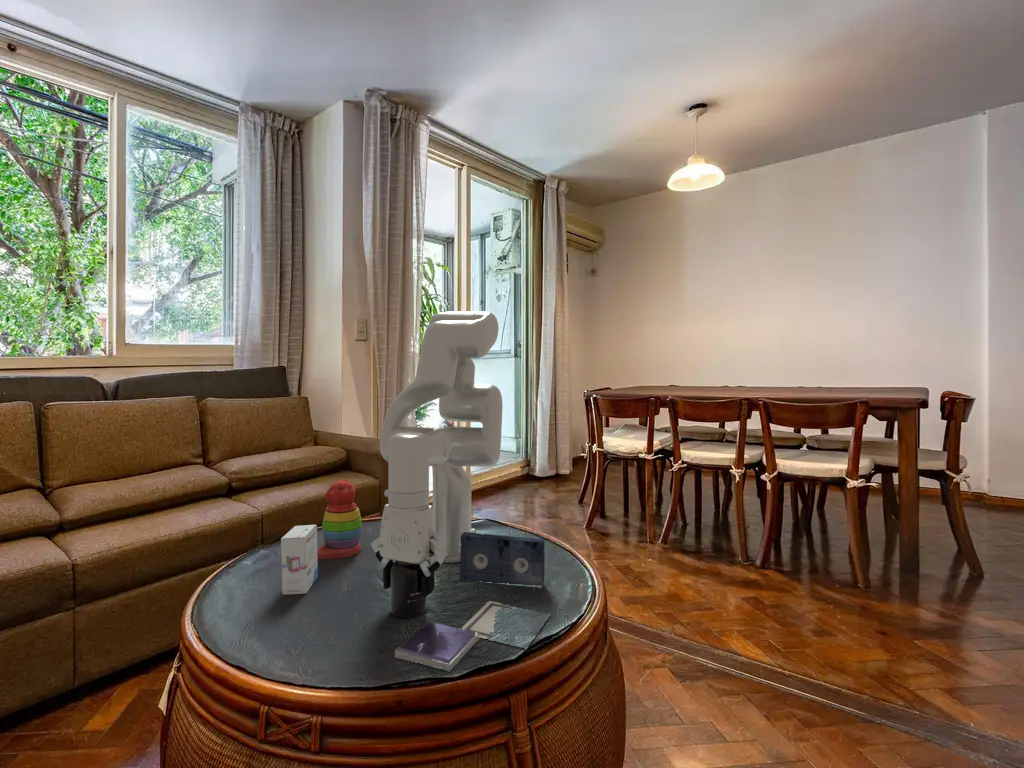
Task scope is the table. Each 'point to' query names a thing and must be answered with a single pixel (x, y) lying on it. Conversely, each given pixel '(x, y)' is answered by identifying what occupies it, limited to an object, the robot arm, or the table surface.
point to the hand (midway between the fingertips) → (408, 589)
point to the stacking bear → (340, 522)
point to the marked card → (484, 620)
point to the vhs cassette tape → (502, 559)
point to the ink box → (299, 559)
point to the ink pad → (437, 645)
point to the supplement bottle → (406, 590)
